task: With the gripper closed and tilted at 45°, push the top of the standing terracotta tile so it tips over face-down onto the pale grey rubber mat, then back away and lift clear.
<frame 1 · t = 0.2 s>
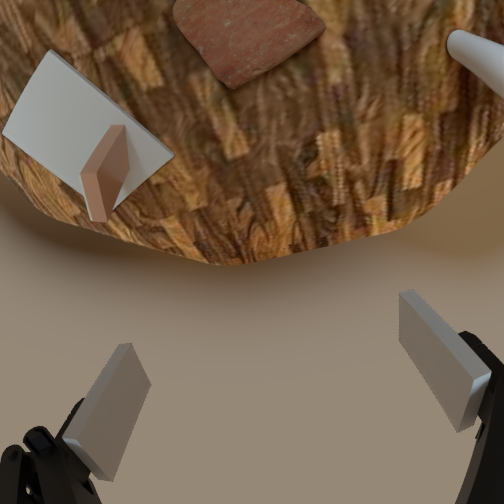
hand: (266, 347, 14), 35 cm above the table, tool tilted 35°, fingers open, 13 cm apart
terracotta tile: (119, 147, 43), point 1 cm above the table, touching grey mat
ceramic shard: (242, 15, 30), on the table
grey mat: (79, 138, 41), on the table
drinking glass: (458, 44, 30), on the table
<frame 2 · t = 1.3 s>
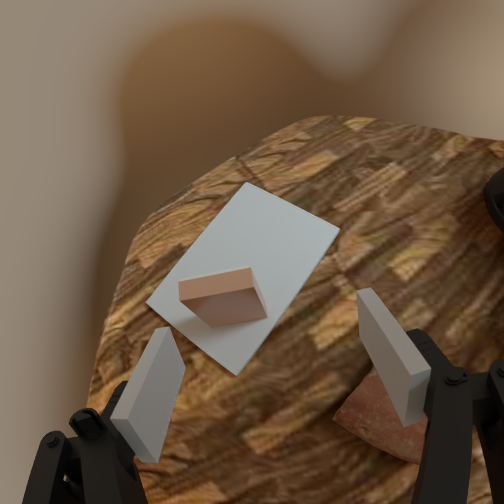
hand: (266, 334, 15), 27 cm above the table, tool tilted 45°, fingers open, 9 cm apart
terracotta tile: (238, 314, 43), point 1 cm above the table, touching grey mat
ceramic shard: (403, 397, 35), on the table
grey mat: (242, 268, 47), on the table
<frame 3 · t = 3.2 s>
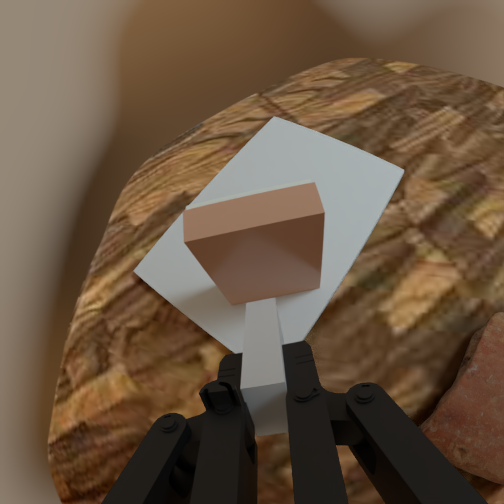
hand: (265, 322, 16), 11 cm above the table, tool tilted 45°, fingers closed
terracotta tile: (273, 284, 28), point 1 cm above the table, touching grey mat
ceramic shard: (496, 399, 20), on the table
grey mat: (276, 220, 32), on the table
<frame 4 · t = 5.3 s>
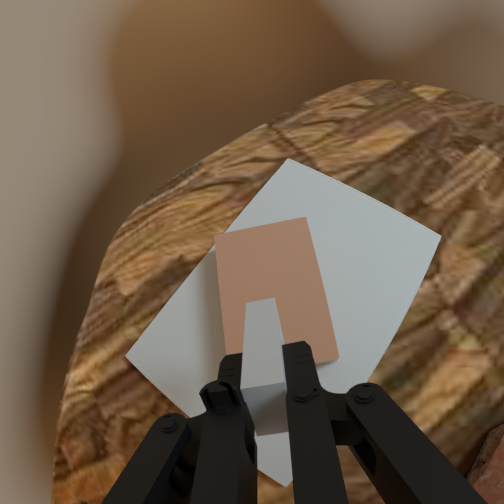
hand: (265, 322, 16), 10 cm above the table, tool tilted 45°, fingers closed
terracotta tile: (285, 370, 22), point 2 cm above the table, tilted 90°, touching grey mat
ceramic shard: (502, 486, 15), on the table
grey mat: (291, 302, 27), on the table
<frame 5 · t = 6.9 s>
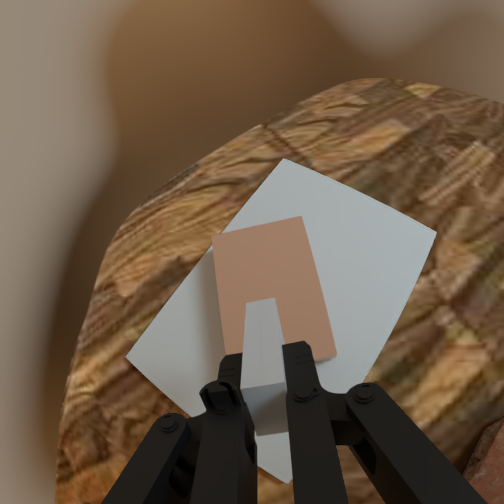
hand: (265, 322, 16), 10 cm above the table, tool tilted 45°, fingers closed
terracotta tile: (284, 367, 23), point 2 cm above the table, tilted 90°, touching grey mat
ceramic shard: (499, 483, 15), on the table
grey mat: (289, 301, 27), on the table
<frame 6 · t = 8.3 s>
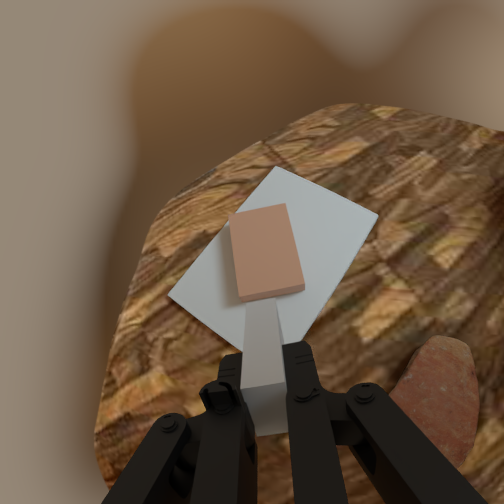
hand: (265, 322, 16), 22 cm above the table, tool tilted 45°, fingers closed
terracotta tile: (272, 293, 38), point 2 cm above the table, tilted 90°, touching grey mat
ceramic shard: (435, 401, 31), on the table
grey mat: (277, 256, 43), on the table
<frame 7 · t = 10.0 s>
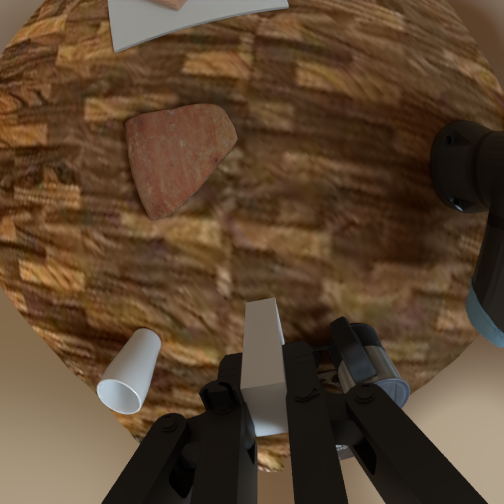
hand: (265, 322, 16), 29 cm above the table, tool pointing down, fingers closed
terracotta tile: (155, 0, 32), point 2 cm above the table, tilted 90°, touching grey mat
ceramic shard: (186, 156, 42), on the table
dark cardboard box: (317, 385, 53), on the table
milk frother: (330, 351, 51), on the table
drinking glass: (147, 339, 50), on the table
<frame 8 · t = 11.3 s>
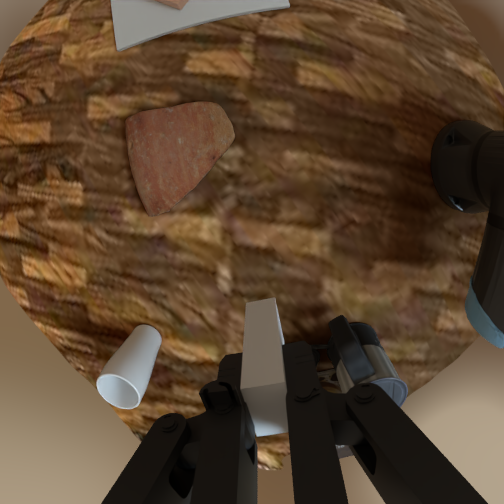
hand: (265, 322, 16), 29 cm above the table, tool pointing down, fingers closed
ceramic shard: (185, 154, 42), on the table
dark cardboard box: (316, 383, 54), on the table
milk frother: (329, 350, 51), on the table
drinking glass: (148, 335, 51), on the table
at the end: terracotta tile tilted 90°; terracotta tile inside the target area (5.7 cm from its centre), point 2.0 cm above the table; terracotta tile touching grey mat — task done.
